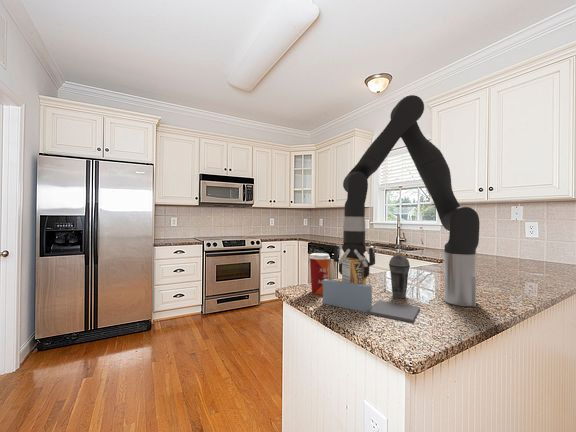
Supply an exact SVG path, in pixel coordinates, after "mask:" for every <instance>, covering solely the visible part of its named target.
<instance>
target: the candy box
mask: <svg viewBox="0 0 576 432" xmlns="http://www.w3.org/2000/svg"><path fill="white" fill-rule="evenodd" d="M364 267H365V266H364V264H363V263H362V262H361V261H360V259H356V258H342V275H341V281H343V282H350V283H357V284H364V285H367V278H364Z"/></svg>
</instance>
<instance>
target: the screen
mask: <svg viewBox="0 0 576 432" xmlns="http://www.w3.org/2000/svg"><path fill="white" fill-rule="evenodd" d="M372 289H373V287H372V285H370V284H366V285H364V284H357V283H350V282H343V281H342V280H334V279H329V278H328V279H324V280H323V295H322V304H324V305H328V306H334V307H339V308H344V309H347V310H352V311H359V312H363V313H364V312H365V313H367V310H370V309H372V306H373V305H372V303H373V301H372V300H373V299H372V298H373V297H372V296H373V295H372V293H373V291H372Z"/></svg>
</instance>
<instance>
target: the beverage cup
mask: <svg viewBox="0 0 576 432" xmlns="http://www.w3.org/2000/svg"><path fill="white" fill-rule="evenodd" d="M388 266H389V271H390V282H391V293H392V297H394V298H397V299H405V298H406V297H407V290H408V279H409V271H410V267H411V266H410V261H409V259H408V258H407V257H406V255H403V254H401V242H398V254H395V255H393V256H392V257H391V258H390V260H389V262H388Z"/></svg>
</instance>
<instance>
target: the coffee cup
mask: <svg viewBox="0 0 576 432" xmlns="http://www.w3.org/2000/svg"><path fill="white" fill-rule="evenodd" d="M308 258H309V265H310V268H309V269H310V283H311V285H310V286H311V293H312V294H313V295H318V296H319V295H320V296H323V280H324V279H329V274H330V273H329V271H330V259H331V257H330V254H329V253H325V252H324V253H322V252H313V253H310V254H309V257H308Z"/></svg>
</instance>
